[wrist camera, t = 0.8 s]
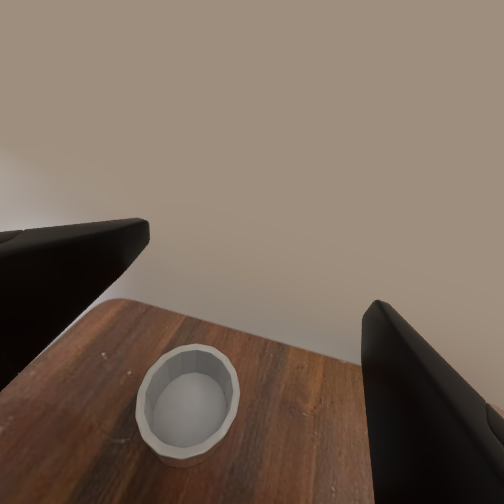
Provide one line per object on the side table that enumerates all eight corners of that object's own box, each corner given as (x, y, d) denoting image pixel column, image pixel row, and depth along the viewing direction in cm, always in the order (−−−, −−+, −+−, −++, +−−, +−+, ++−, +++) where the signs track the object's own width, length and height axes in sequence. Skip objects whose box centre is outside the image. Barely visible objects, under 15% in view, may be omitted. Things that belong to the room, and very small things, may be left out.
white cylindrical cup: (220, 477, 16) (227, 469, 13) (128, 457, 16) (112, 444, 12) (237, 377, 21) (246, 354, 18) (168, 362, 21) (163, 335, 17)
